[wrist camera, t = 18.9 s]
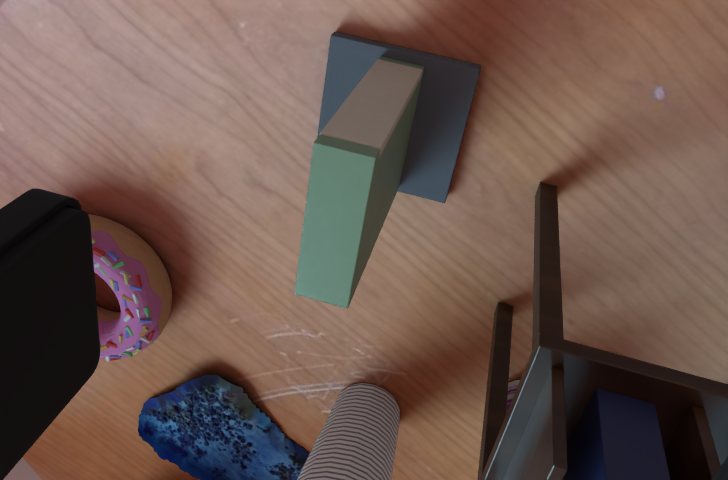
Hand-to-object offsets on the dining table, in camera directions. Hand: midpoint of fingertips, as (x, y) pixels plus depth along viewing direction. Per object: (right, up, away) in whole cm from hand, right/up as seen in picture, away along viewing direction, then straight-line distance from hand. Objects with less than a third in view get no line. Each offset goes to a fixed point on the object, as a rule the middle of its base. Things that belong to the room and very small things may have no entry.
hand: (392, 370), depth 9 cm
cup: (0, -13, +52) cm, 53 cm away
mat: (+2, +10, +37) cm, 38 cm away
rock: (-14, -18, +58) cm, 63 cm away
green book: (+1, +10, +36) cm, 37 cm away
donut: (-24, -1, +51) cm, 56 cm away
